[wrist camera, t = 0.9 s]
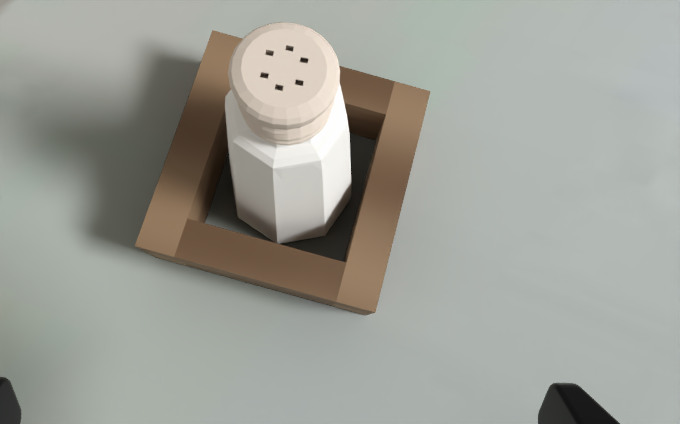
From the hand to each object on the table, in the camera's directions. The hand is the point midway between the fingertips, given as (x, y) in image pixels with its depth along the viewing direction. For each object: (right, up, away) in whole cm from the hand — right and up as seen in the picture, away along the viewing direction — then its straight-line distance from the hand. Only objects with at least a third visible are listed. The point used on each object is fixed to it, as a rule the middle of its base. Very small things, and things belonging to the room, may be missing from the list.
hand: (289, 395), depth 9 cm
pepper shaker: (-1, +4, +15) cm, 16 cm away
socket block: (-1, +4, +15) cm, 16 cm away
